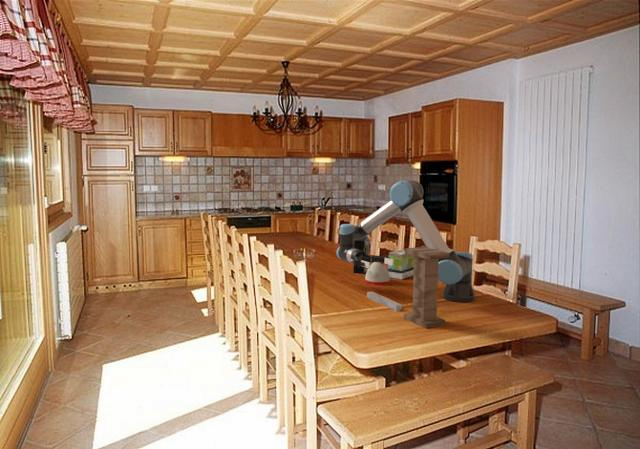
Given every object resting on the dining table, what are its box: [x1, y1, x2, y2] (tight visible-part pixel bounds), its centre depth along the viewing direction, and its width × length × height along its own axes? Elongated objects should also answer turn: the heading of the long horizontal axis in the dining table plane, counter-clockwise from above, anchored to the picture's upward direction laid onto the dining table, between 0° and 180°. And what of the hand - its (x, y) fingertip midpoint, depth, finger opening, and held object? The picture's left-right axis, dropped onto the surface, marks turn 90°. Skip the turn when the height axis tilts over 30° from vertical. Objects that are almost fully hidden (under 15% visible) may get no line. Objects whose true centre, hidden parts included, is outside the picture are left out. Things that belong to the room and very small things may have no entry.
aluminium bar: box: [366, 291, 403, 312], centre depth 228 cm, size 25×3×3 cm, turn 26°
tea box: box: [387, 249, 414, 280], centre depth 283 cm, size 15×10×15 cm
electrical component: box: [353, 236, 371, 275], centre depth 298 cm, size 18×10×20 cm, turn 168°
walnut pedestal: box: [403, 246, 450, 329], centre depth 200 cm, size 16×10×30 cm, turn 28°
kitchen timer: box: [364, 255, 391, 286], centre depth 269 cm, size 14×14×15 cm
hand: (381, 264), depth 227 cm, fingers open, 13 cm apart
